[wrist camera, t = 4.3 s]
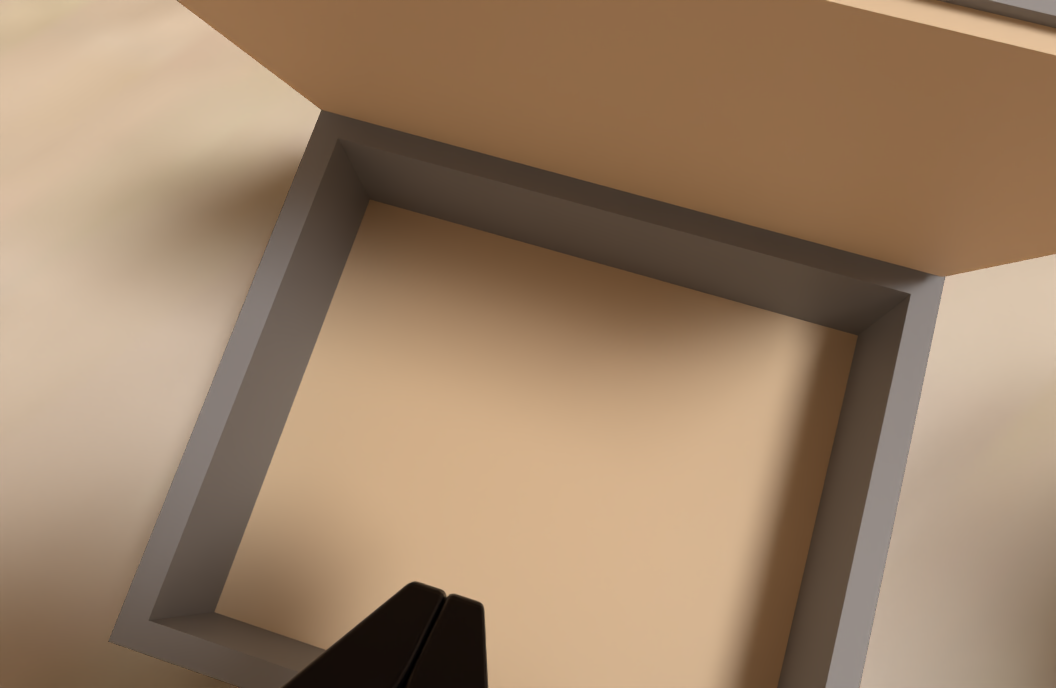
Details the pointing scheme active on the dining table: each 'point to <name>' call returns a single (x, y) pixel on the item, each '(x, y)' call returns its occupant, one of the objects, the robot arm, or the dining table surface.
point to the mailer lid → (717, 105)
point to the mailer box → (540, 432)
